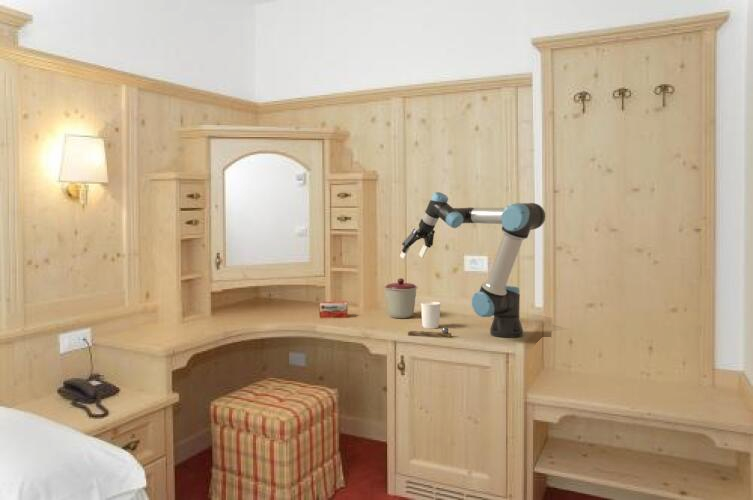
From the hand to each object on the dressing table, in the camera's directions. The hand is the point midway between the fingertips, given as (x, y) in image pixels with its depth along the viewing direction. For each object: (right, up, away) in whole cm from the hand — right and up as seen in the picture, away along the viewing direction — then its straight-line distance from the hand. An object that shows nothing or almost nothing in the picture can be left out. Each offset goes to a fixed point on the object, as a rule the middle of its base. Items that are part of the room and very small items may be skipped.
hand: (411, 257), depth 316 cm
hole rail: (+7, -37, -24) cm, 44 cm away
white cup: (+9, -35, -3) cm, 37 cm away
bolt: (+14, -35, -26) cm, 46 cm away
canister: (-4, -33, +25) cm, 42 cm away
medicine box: (-41, -33, +27) cm, 60 cm away
